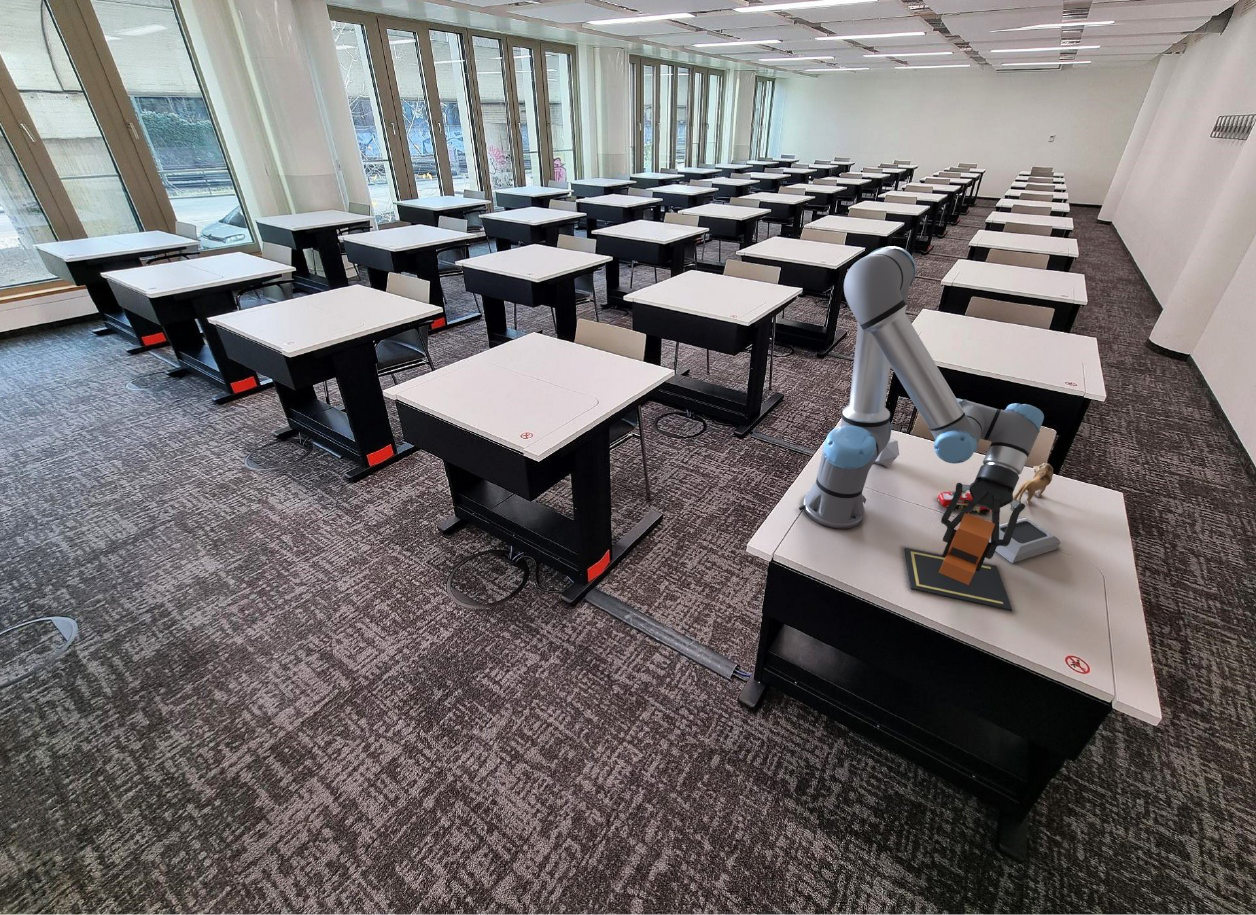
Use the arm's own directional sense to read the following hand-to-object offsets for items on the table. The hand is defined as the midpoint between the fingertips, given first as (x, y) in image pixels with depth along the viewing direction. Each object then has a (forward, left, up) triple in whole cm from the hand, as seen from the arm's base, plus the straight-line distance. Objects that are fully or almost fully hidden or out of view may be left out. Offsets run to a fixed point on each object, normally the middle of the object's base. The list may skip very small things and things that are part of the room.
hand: (960, 563), depth 117 cm
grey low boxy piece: (+18, +20, -7) cm, 28 cm away
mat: (+1, +2, -6) cm, 7 cm away
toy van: (+1, +2, -4) cm, 4 cm away
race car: (+8, +32, -7) cm, 34 cm away
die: (-12, +49, -7) cm, 51 cm away
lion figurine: (+26, +43, -7) cm, 51 cm away
